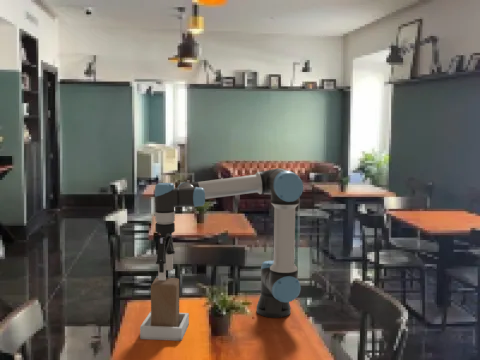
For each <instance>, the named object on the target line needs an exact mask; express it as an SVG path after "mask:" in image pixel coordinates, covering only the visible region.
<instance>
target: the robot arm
mask: <svg viewBox="0 0 480 360" xmlns="http://www.w3.org/2000/svg"><path fill="white" fill-rule="evenodd" d="M303 191H304V183H303V180H302V179H301V178H300V176H299V175H298V174H296V173H295V172H293V171H291V170H287V169H284V168H274V169H273V168H271V169H269V170H268V169H267V170H262V171H257V172H256V173H254V174H250V175H243V176H235V177H228V178H219V179H211V180H205V181H203V180H202V181H196V182H188V181H186V182H182V183H180V184H179V185H178V186H177V187H175V184H174V183H173V182H159V183H156V184H155V186H154V212H155V213H154V214H153V217H155V222H156V223H155V224H154V225H155V232H156V234H160V237H158V238H157V239H158V240H157V241H158V245H157V257H156V261H155V265H157V266H158V267H157V269H158V270H157V271H158V273H157V274H158V277H157V278H158V280H166V278H167V277H166V275H167V272H166V271H173V270H174V260H173V258H174V254H175V253H176V252H175V249H174V241H173V233H175V232H176V231H175V230H176V228H175V227H176V226H175V221H176V220H175V219H176V216H175V215H176V213H175V208H185V207H190V208H191V207H194V208H196V207H203V206H204V205H205V203H206V200H209V199H215V198H225V197H231V196H238V195H245V194H246V195H247V194H254V193H255V194H256V193H257V194H259V195H263V194H265V195H266V194H267V195H270V204H271V205H272V206H273V208H274V211H273V212H274V213H273V214H274V215H273V217H274V218H273V219H274V220H273V222H274V223H273V260H265V261H262V263H261V266H260V271H261V272H260V295H259V299H258V300H257V304H256V313H257V315H259V316H262V317H265V318H272V319H273V318H274V319H278V318H279V319H280V318H284V317H287V316H289V315H290V314H291V305H290V302H293V301H294V300H296V299H297V298H298V297H299V295H300V294H301V290H302V287H301V286H302V285H301V283H300V280H299V279H298V276H299V275H298V272H299V271H298V269H299V268H298V267H297V266H296V264H295V246H296V245H295V242H296V240H295V239H296V238H295V237H296V235H295V234H296V232H295V231H296V208H297V207H298V206H299V205H300V197H301V196H302V194H303Z"/></svg>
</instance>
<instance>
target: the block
mask: <svg viewBox="0 0 480 360" xmlns="http://www.w3.org/2000/svg"><path fill="white" fill-rule="evenodd" d="M150 312H151V326H165V327H178V325H179V313H180V279H179V278H177V277H166V280H158V277H155V279H154V280H153V281H152V283H151V285H150Z"/></svg>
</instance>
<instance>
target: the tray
mask: <svg viewBox="0 0 480 360" xmlns="http://www.w3.org/2000/svg"><path fill="white" fill-rule="evenodd" d="M189 314H190V313H189V312H179V325H178V327H165V326H151V311H149V313H148V315H147V316H146V318H145V319H144V320H143V322H142V324H141V325H140V328H139V330H140V331H139V333H140V334H139V337H140V338H139V339H140V340H153V341H154V340H156V341H158V340H159V341H175V342H176V341H178V342H182V340H183V339H184V337H185V335H186V332H187V330H188V327H189V323H190V317H189V316H190V315H189Z"/></svg>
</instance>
